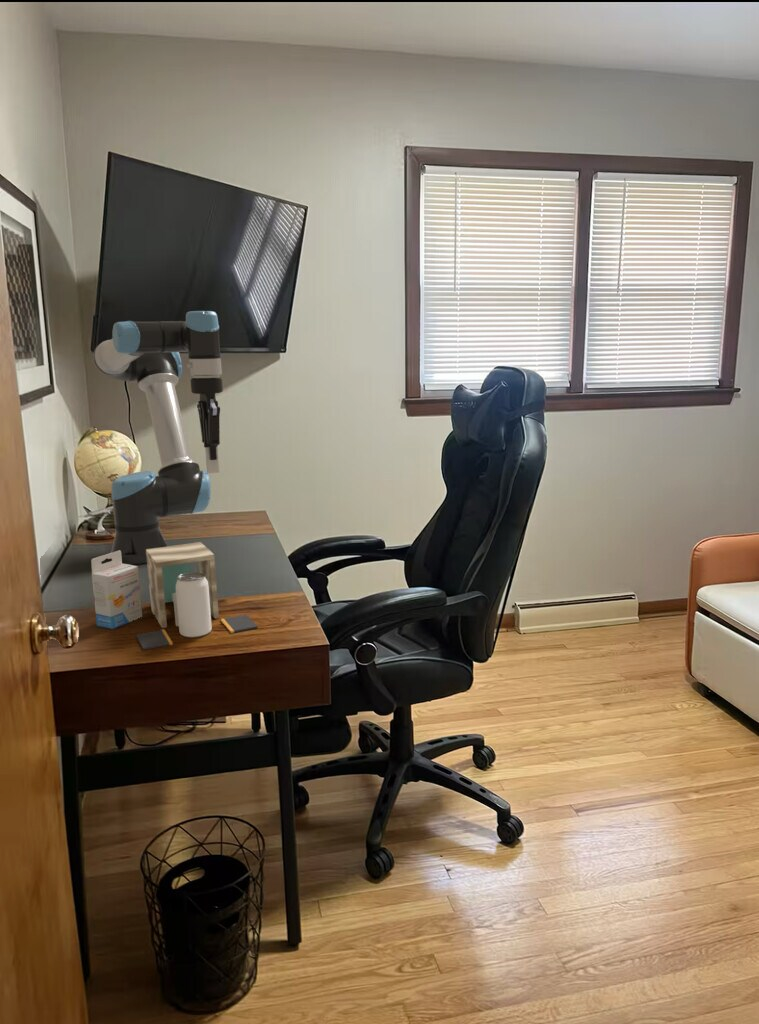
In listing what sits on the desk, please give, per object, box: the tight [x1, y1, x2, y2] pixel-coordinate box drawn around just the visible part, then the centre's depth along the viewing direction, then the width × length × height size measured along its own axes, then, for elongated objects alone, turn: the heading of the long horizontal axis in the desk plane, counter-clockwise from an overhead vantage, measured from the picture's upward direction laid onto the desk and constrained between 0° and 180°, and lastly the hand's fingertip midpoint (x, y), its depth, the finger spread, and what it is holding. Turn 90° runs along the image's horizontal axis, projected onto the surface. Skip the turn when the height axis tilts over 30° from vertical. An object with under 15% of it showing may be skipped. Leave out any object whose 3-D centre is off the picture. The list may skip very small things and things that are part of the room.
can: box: [176, 571, 213, 638], centre depth 152 cm, size 6×6×12 cm
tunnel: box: [146, 541, 220, 629], centre depth 162 cm, size 12×12×14 cm
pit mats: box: [135, 614, 259, 651], centre depth 153 cm, size 8×23×1 cm, turn 117°
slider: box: [162, 563, 192, 627], centre depth 163 cm, size 19×8×9 cm, turn 27°
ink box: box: [90, 550, 143, 630], centre depth 159 cm, size 8×5×15 cm, turn 152°
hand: (213, 472), depth 187 cm, fingers closed
